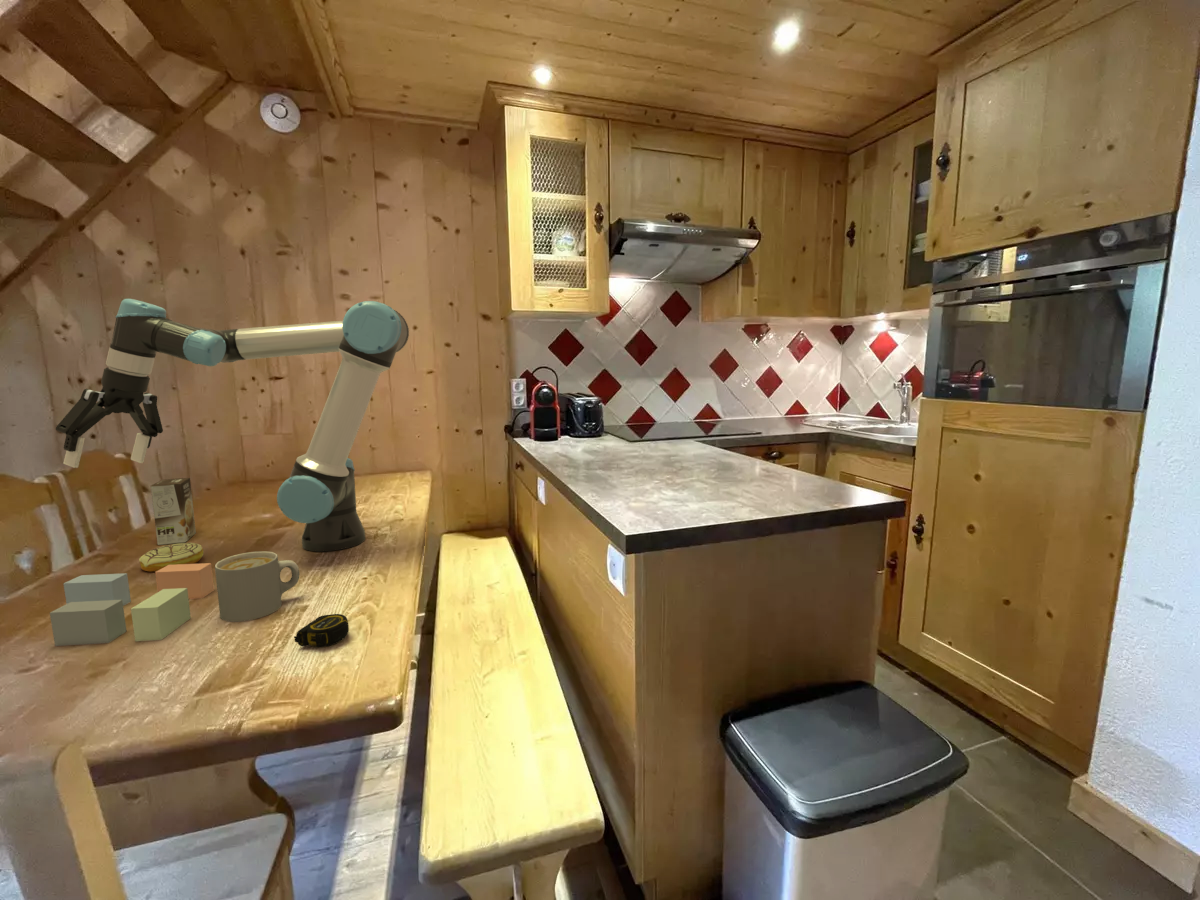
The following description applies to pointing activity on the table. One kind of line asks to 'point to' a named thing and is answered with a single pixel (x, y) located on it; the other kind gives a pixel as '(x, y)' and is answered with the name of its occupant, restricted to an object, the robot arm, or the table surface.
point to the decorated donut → (171, 556)
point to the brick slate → (88, 622)
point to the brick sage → (160, 614)
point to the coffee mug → (252, 585)
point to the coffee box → (173, 510)
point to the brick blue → (98, 588)
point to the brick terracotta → (187, 579)
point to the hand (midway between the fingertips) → (105, 463)
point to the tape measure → (323, 631)
